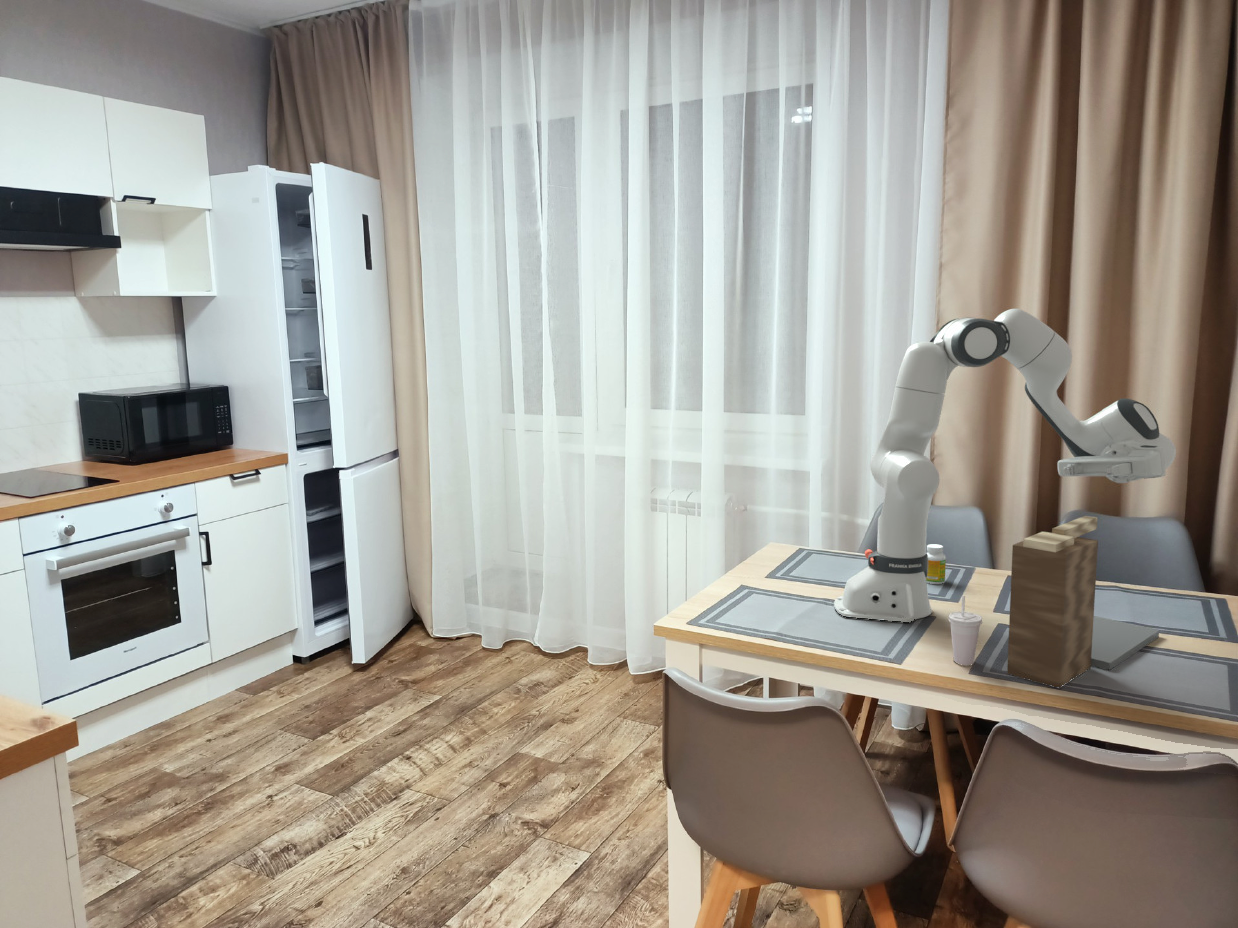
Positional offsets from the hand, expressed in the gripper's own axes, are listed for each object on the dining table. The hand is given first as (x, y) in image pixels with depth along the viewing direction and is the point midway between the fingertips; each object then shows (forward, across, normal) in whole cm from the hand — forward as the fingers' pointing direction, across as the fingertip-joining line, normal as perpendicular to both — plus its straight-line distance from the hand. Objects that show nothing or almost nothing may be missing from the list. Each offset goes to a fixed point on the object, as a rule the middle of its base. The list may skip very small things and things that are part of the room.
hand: (1087, 471), depth 187 cm
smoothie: (+33, -10, +34) cm, 49 cm away
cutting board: (+2, -1, +36) cm, 37 cm away
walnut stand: (+23, +2, +36) cm, 43 cm away
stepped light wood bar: (+19, +5, +11) cm, 22 cm away
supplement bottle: (-8, -49, +30) cm, 58 cm away
